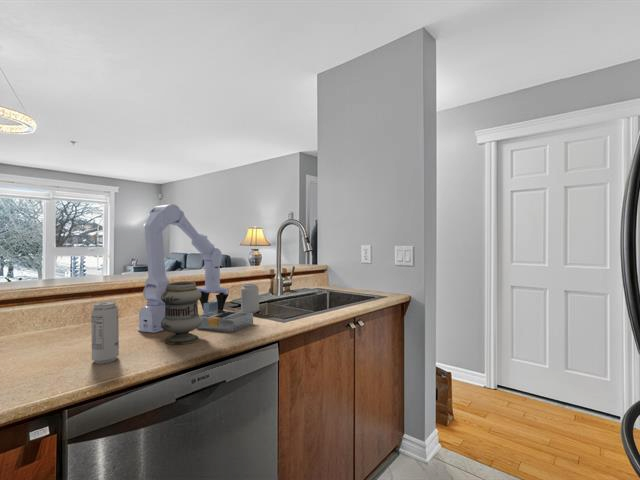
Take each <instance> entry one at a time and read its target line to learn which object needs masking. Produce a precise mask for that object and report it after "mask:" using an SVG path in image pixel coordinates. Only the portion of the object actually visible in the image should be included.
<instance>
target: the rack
mask: <svg viewBox="0 0 640 480" xmlns="http://www.w3.org/2000/svg"><path fill="white" fill-rule="evenodd" d="M199 315H200V316H201V317H202V324H201V325H200V326H199V327H198V328H197V329H199V330H207V331H208V330H209V331H216V332H217V331H218V332H223V333H224V332H226V333H235V332H237V331H240V330H243V329H244V328H247V327H249V326H251V325H253V324H254V313H248V312H242V311H236V310H235V311H234V310H226V309H225V310H224V309H223V310H215V311H212V312H209V313H206V314H204V313H202V314H199Z"/></svg>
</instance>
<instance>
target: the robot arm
mask: <svg viewBox="0 0 640 480" xmlns="http://www.w3.org/2000/svg"><path fill="white" fill-rule="evenodd" d="M148 214H149V215H148V218H147V220H146V222H145V225H144V237H145V248H146V259H147V260H146V262H147V272H148V277H147V278H146V279H145V281H144V288H143V290H142V291H143V293H142V294H143V297H144V299H145V300H146V305H145V306H143V307H141V308H140V310H139V312H138V329H137V332H142V333H152V334H156V333H159V332H163V331H165V330H164V329H163V328H162V327H161V321H162V319H163V318H164V317H165V302H163V301H162V300H161V295H162V293H163V292H164V291H165V290H166V286H167V284H168V283H171V281H170V280H169V278H168V277H167V273H166V263H165V252H164V251H165V250H164V239H163V238H164V237H163V231H164V230H165V229H166V228H167V227H168V226H169V225H172V226H177V227H178V228H179V229H180V230H181V231H182V232H183V233H184V234H185V235H186V236H187V237H188V238H190V240H191V245H192V246H193V247H194V248H195V249H196V250H197V251H198V252H199V254H200V255H201V259H202V261H204V275H205V276H204V286H200V287H196V288H197V289H199V290H200V291H201V298H200V299H199V300H198V301H199V303H200V304H201V309H202V311H203V312H204V310H203V303H207V302H209V297H210V294H216V295H215V298H216V300H217V302H218V310H224V307H225V303H226V301H227V299H228V297H229V294H230V289H229V288H224V287H221V277H220V275H221V273H220V271H221V270H220V268H221V267H220V266H221V261H222V260H223V257H224V254H222V252H221V249H219V248H218V247H217V248H216V247H215V245H214V244H213V243H212V242H211V241H210V240H209V239H208V236H207V235H205V234H202V233H199V232H198V231H197V230H196V228H195V227H194V226H193V225H192V223H191V222H190V221H189V220H188V218H187V217H186V216H185V212H184V211H183V210H181V208H180V207H179V206H178V205H177V204H174V203H170V204H163V205H161V204H159V205H155V206H154V207H153V208H152V209H150V210H149V213H148Z"/></svg>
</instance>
